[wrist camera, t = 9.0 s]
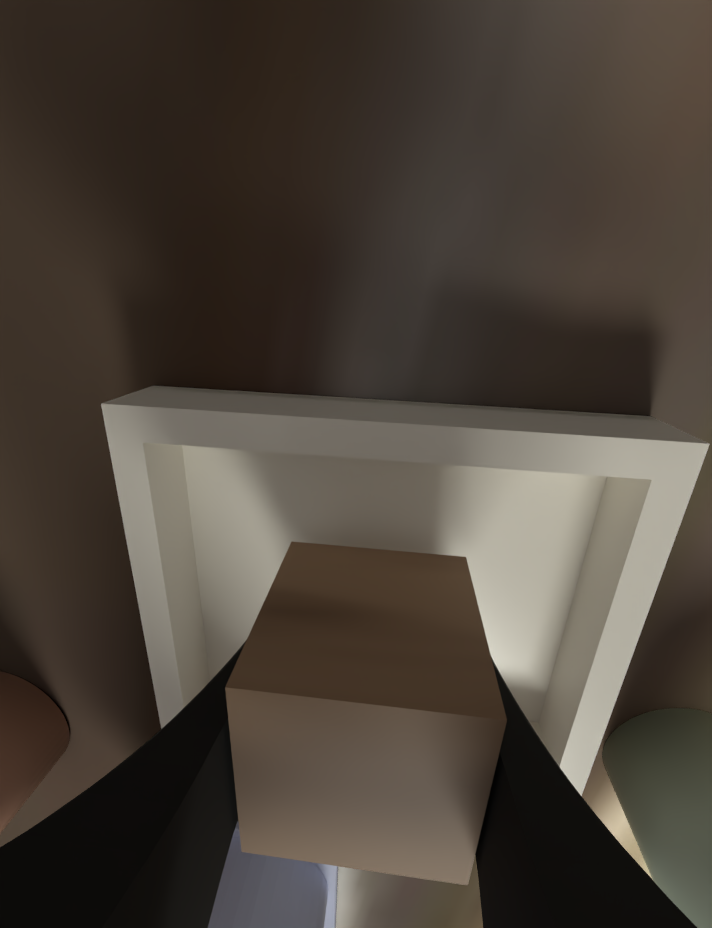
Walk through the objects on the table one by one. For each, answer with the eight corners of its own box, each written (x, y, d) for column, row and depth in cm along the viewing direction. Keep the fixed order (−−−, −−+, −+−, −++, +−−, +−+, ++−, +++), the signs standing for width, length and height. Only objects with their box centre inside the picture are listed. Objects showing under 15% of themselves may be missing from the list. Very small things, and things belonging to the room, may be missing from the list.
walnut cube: (445, 687, 14) (467, 884, 9) (293, 671, 14) (241, 852, 9) (465, 557, 12) (507, 720, 7) (291, 541, 12) (225, 687, 8)
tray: (555, 731, 17) (579, 800, 15) (194, 687, 18) (164, 744, 16) (651, 416, 12) (710, 443, 10) (153, 385, 13) (101, 403, 11)
